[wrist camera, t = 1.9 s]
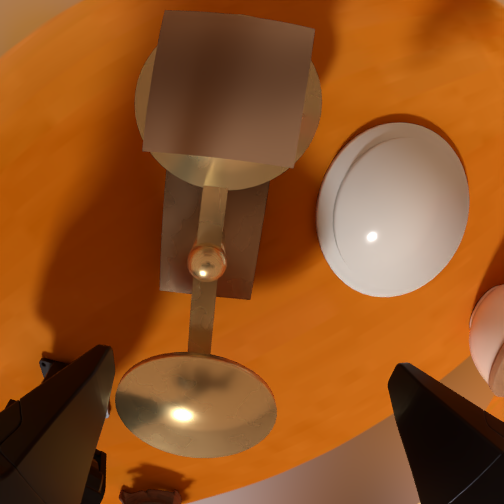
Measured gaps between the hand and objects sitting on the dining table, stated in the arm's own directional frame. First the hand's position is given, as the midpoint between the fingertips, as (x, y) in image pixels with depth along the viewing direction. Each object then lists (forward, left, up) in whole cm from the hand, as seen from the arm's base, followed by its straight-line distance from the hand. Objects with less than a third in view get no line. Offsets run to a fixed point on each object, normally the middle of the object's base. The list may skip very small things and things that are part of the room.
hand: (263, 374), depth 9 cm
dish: (+3, -11, -13) cm, 17 cm away
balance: (0, +2, -13) cm, 13 cm away
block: (+8, +2, -8) cm, 12 cm away
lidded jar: (-5, -26, -13) cm, 30 cm away
